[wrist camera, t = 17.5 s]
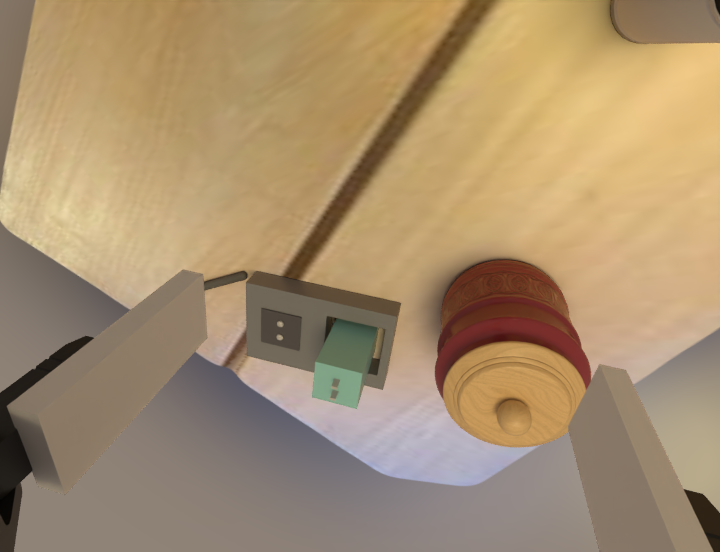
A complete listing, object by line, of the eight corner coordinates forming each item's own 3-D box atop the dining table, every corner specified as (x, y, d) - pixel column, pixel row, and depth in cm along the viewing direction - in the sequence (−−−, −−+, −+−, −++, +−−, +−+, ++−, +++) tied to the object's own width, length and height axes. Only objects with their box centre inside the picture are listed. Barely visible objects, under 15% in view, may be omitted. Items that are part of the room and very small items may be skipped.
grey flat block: (256, 342, 58) (245, 357, 56) (256, 271, 53) (244, 284, 50) (386, 373, 56) (382, 392, 53) (400, 303, 51) (396, 318, 48)
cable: (181, 294, 58) (177, 298, 57) (177, 288, 57) (173, 292, 56) (249, 276, 54) (246, 280, 53) (246, 269, 53) (242, 273, 52)
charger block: (336, 342, 56) (308, 405, 46) (340, 310, 53) (311, 369, 43) (374, 351, 55) (354, 417, 45) (380, 319, 52) (359, 381, 43)
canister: (418, 298, 50) (396, 409, 35) (516, 232, 44) (541, 331, 29) (488, 373, 52) (496, 506, 37) (589, 320, 46) (648, 453, 31)
